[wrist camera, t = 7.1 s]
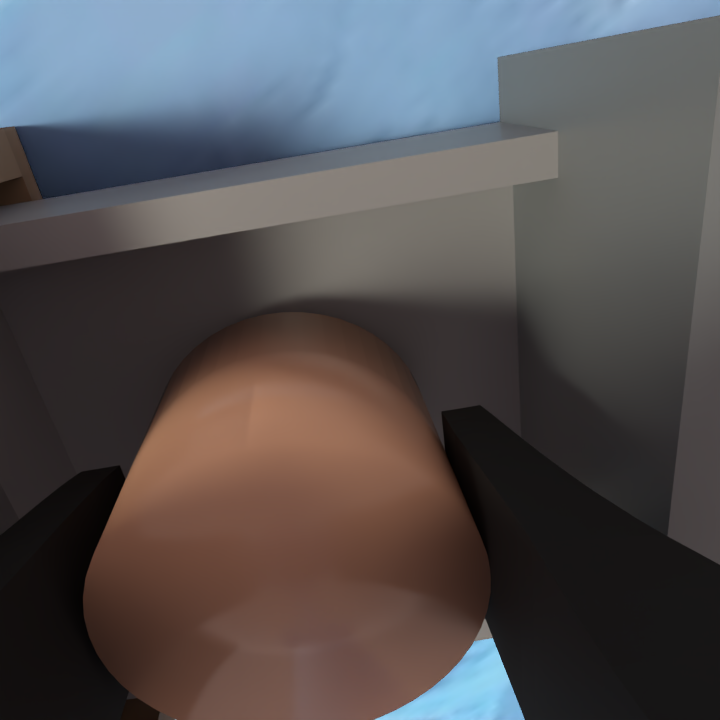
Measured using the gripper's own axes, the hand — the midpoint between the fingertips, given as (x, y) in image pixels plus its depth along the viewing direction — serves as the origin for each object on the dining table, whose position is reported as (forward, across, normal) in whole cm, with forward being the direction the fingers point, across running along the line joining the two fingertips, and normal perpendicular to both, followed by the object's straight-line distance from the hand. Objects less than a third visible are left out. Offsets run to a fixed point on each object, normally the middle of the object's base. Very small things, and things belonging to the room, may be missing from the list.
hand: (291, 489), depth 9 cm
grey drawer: (+3, 0, 0) cm, 3 cm away
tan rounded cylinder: (+2, 0, 0) cm, 2 cm away
